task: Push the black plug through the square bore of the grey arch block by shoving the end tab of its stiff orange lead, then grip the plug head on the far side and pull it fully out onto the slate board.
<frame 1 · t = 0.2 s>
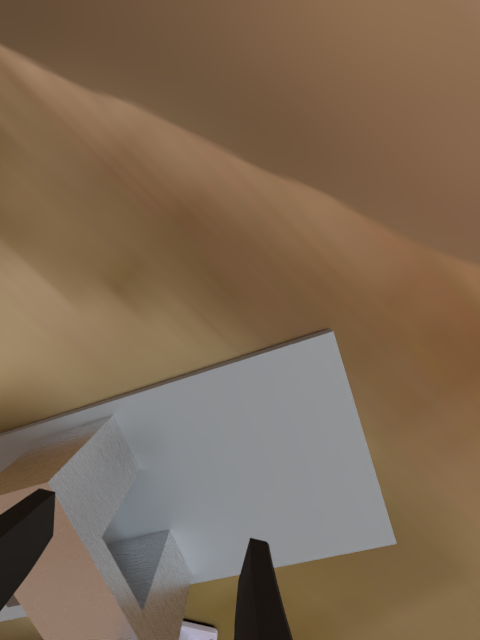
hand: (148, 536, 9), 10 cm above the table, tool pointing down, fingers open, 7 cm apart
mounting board: (132, 497, 21), on the table
grey arch block: (127, 499, 21), resting on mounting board
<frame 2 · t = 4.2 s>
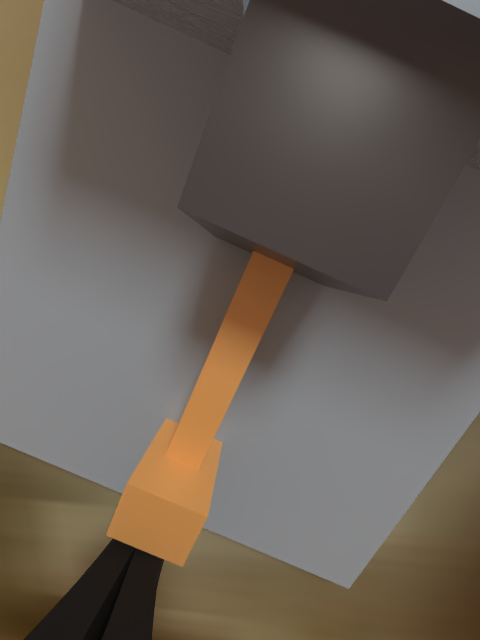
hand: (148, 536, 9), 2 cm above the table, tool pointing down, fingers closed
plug: (297, 201, 8), point 1 cm above the table, touching gripper
grey arch block: (380, 14, 7), resting on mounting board
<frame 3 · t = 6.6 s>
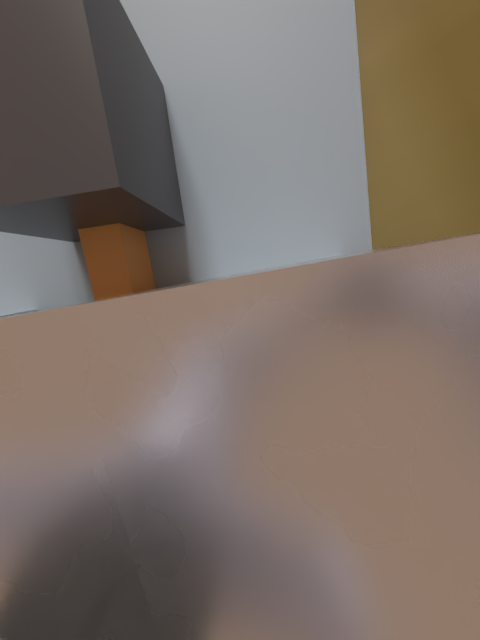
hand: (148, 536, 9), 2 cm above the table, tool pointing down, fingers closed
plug: (114, 169, 8), point 1 cm above the table, touching gripper, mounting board
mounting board: (138, 354, 10), on the table
grey arch block: (143, 365, 10), resting on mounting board
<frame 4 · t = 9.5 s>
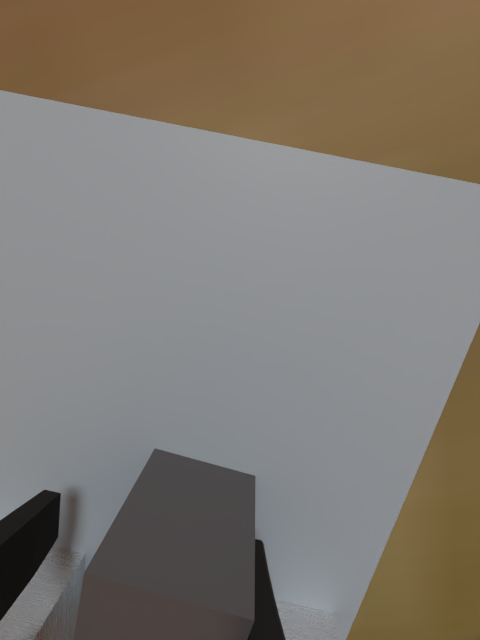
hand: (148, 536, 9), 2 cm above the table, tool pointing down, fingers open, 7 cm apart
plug: (194, 503, 10), point 1 cm above the table, touching gripper, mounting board
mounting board: (151, 587, 12), on the table
grey arch block: (150, 595, 12), resting on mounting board
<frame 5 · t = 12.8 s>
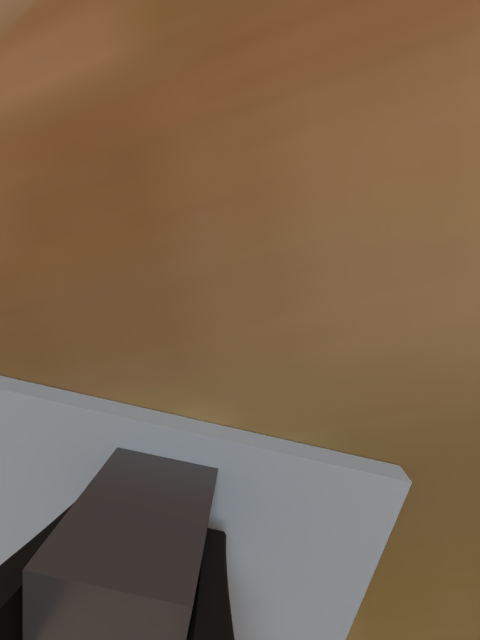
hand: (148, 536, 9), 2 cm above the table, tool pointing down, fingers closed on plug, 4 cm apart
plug: (161, 499, 10), point 1 cm above the table, touching gripper
when the fingers open (2 cm above the table, at t = 13.3 s): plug stays where it is, resting on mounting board.
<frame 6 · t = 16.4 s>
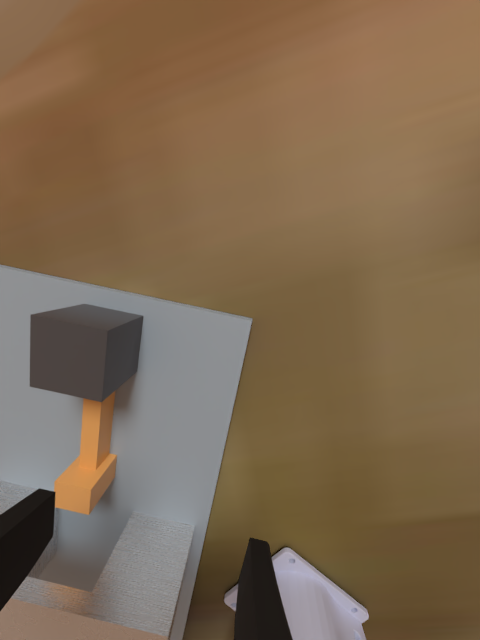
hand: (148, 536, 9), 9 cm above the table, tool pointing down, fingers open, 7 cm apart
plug: (111, 338, 17), point 1 cm above the table, touching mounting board
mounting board: (99, 517, 21), on the table
grey arch block: (99, 522, 21), resting on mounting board
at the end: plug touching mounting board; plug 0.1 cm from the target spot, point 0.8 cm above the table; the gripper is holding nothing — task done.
